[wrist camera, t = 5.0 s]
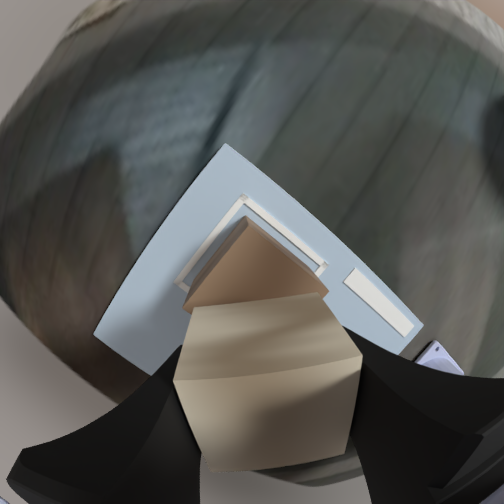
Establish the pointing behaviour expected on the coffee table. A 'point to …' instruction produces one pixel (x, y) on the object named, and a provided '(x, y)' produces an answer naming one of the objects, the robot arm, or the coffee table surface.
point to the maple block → (268, 382)
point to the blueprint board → (206, 244)
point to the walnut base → (251, 271)
